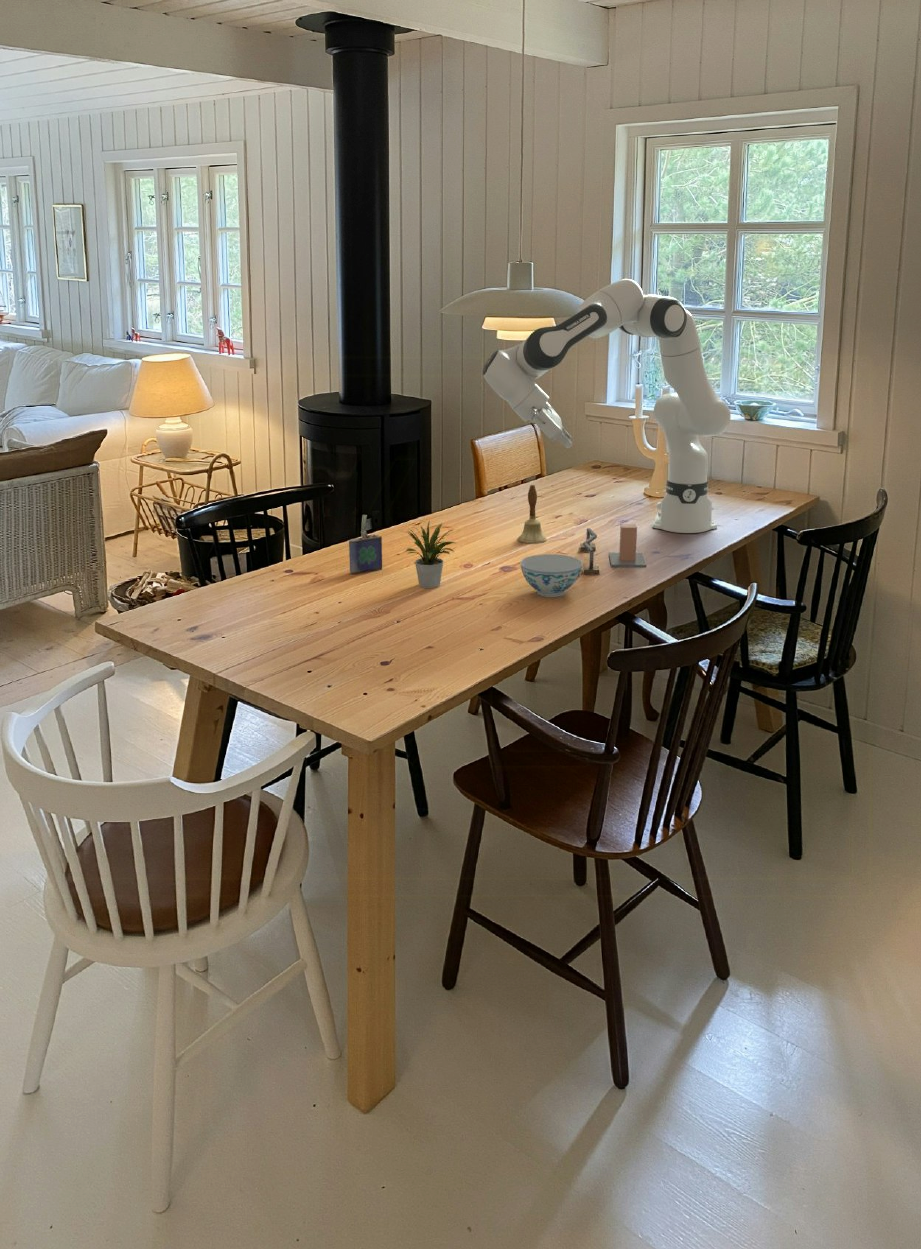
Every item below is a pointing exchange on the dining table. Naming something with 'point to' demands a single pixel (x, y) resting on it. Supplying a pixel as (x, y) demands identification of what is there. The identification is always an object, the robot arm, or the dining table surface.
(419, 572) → the house plant
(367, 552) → the flask
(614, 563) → the slate tile
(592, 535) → the zigzag wire
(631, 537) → the brick block
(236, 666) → the dining table surface
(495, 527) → the dining table surface
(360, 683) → the dining table surface
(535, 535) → the hand bell
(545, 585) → the chinaware
